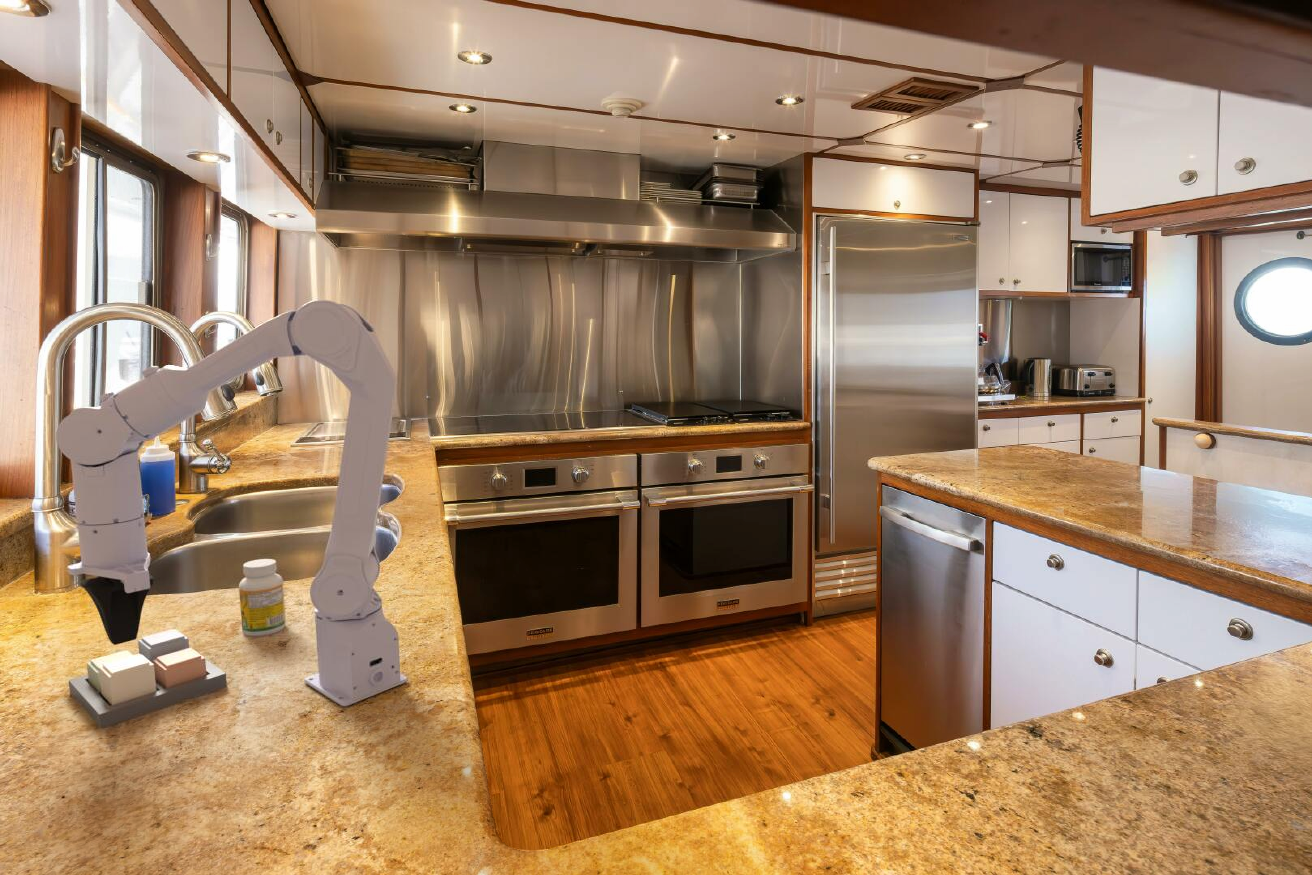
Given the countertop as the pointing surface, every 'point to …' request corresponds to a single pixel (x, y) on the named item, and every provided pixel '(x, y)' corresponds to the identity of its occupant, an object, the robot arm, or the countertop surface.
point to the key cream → (127, 679)
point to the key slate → (162, 644)
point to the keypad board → (143, 697)
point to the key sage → (95, 663)
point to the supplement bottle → (261, 598)
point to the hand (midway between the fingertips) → (123, 640)
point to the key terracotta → (179, 667)
